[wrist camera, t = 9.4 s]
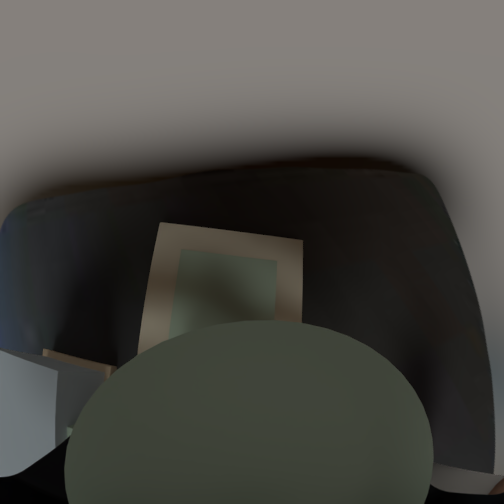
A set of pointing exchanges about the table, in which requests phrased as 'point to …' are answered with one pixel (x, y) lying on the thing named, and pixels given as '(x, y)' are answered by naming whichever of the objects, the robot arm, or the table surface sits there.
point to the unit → (41, 402)
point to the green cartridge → (252, 423)
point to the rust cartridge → (465, 481)
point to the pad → (219, 281)
